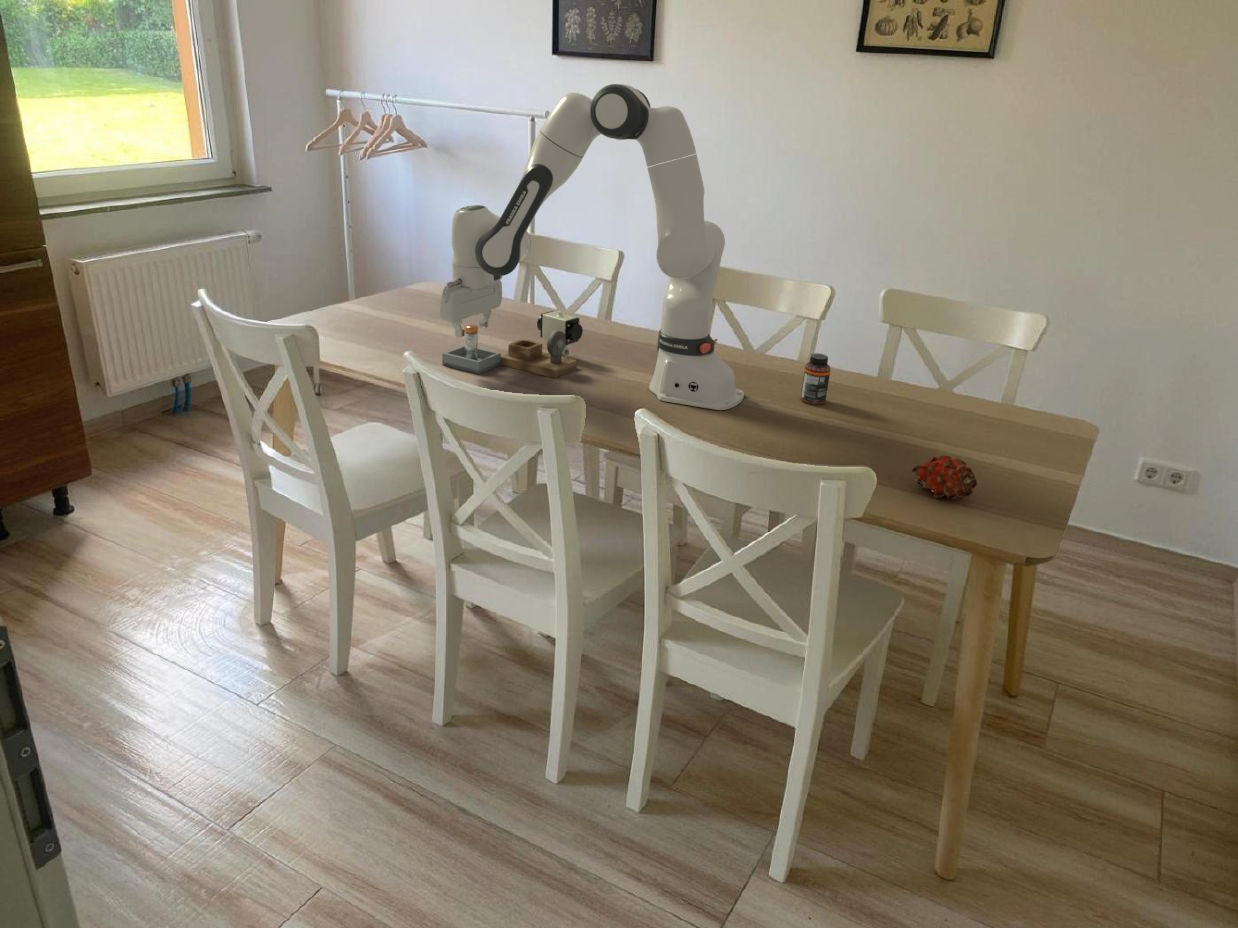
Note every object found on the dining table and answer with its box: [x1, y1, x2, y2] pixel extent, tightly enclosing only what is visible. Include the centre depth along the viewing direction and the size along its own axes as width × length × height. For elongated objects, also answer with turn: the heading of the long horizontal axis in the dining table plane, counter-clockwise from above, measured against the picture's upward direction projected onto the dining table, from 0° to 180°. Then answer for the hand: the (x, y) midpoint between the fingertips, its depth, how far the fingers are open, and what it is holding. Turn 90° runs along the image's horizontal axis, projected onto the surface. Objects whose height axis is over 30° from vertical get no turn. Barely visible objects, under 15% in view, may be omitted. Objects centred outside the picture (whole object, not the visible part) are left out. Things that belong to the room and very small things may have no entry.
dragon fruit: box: [911, 454, 978, 500], centre depth 170 cm, size 8×8×12 cm
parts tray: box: [441, 344, 502, 375], centre depth 223 cm, size 11×9×3 cm
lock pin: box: [464, 324, 479, 361], centre depth 221 cm, size 3×3×9 cm
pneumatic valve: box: [536, 310, 583, 358], centre depth 231 cm, size 6×12×12 cm, turn 53°
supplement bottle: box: [800, 353, 831, 406], centre depth 212 cm, size 6×6×11 cm
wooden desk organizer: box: [500, 330, 578, 379], centre depth 223 cm, size 16×10×10 cm, turn 62°
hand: (471, 332), depth 220 cm, fingers open, 8 cm apart
